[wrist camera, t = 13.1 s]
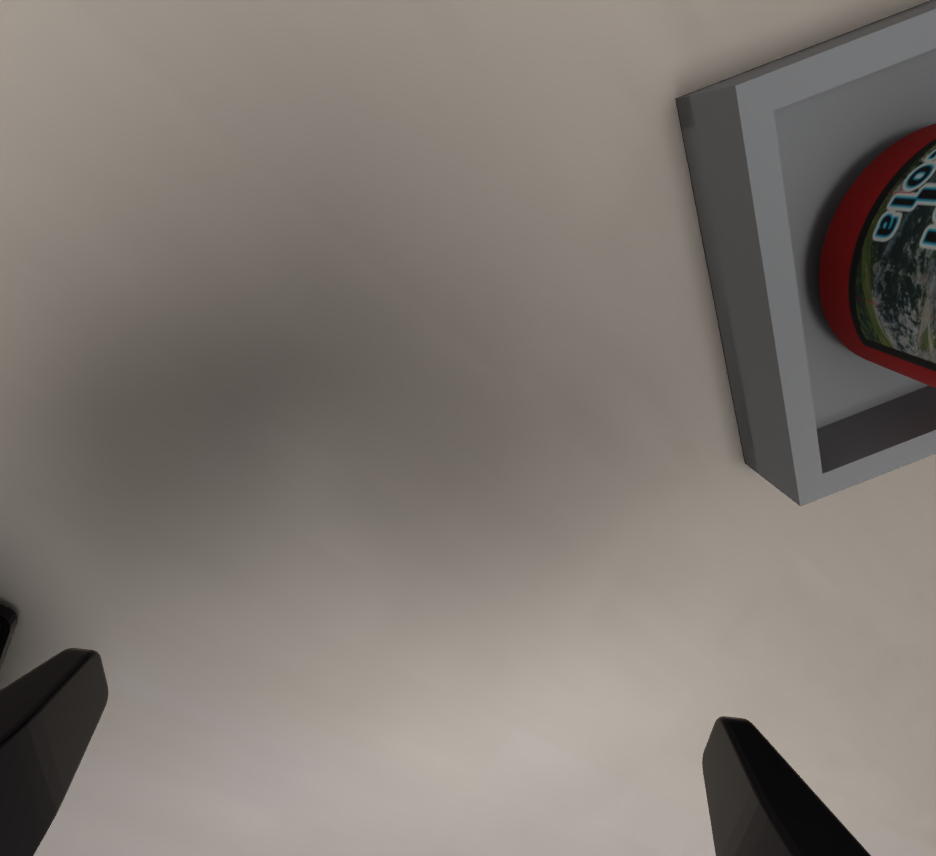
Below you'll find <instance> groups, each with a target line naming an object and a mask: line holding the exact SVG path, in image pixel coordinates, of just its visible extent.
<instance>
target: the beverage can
mask: <svg viewBox="0 0 936 856" xmlns="http://www.w3.org/2000/svg"><path fill="white" fill-rule="evenodd" d="M819 292H820V299H821V304H822V308H823V311H824V315H825V317H826V320H827V322H828V324H829V326H830V328H831V329H832V331H833V333H834V334H835V335H836V337H837V338H838V339H839V340H840V341H841V343H842V344H843V345H844V346H845V347H847V348H848V349H849V350H850V351H851V352H853V353H854V354H856V355H857V356H859V357H861V358H863V359H865V360H868V361H870V362H873V363H875V364H877V365H880V366H882V367H885V368H887V369H890V370H892V371H895V372H897V373H899V374H902V375H904V376H907V377H909V378H912V379H914V380H917V381H919V382H921V383H924V384H926V385H929V386H931V387H934V388H936V124H932V125H930V126H927V127H924V128H922V129H919V130H917V131H915V132H913V133H911V134H909V135H907V136H905V137H904V138H902V139H900V140H899V141H897V142H896V143H894V144H893V145H891V146H890V147H889V148H887V149H886V150H885V151H884V152H882V153H881V154H880V155H879V156H878V157H877V158H875V159H874V160H873V161H872V162H871V163H870V164H869V165H868V166H867V167H866V168H865V169H864V171H863V172H862V173H861V174H860V175H859V176H858V178H857V179H856V180H855V181H854V183H853V184H852V186H851V187H850V188H849V190H848V191H847V193H846V194H845V196H844V198H843V199H842V201H841V203H840V204H839V206H838V208H837V210H836V212H835V214H834V216H833V218H832V221H831V223H830V226H829V228H828V231H827V234H826V237H825V240H824V244H823V248H822V253H821V258H820V265H819Z"/></svg>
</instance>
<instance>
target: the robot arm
mask: <svg viewBox="0 0 936 856" xmlns="http://www.w3.org/2000/svg"><path fill="white" fill-rule="evenodd" d="M16 623H17V617H16V614H15V612H14V611H12V610H11V609H10V608H8V607H6V606H4V605H1V604H0V624H1V625H0V668H1V666H2V663H3V660H4V657H5V654H6V651H7V649H8V646H9V643H10V640H11V637H12V635H13V632H14V629H15V626H16ZM107 699H108V686H107V681H106V677H105V673H104V669H103V664H102V660H101V657H100V655H99V653H98V652H97V651H94V650H87V649H78V648H70V649H66V650H64V651H62V652H60V653H59V654H57V655H55V656H54V657H52V658H51V659H49V660H48V661H46V662H44V663H43V664H41V665H40V666H38V667H36V668H35V669H33V670H32V671H30V672H29V673H27V674H25V675H24V676H22V677H21V678H19V679H18V680H16V681H14V682H13V683H11V684H10V685H8V686H6V687H5V688H3V689H2V690H0V856H33V855H34V853H35V852H36V850H37V848H38V846H39V845H40V843H41V841H42V839H43V838H44V836H45V834H46V832H47V830H48V829H49V827H50V825H51V823H52V821H53V819H54V818H55V816H56V814H57V812H58V810H59V808H60V806H61V804H62V801H63V799H64V797H65V795H66V793H67V791H68V789H69V786H70V784H71V782H72V780H73V777H74V775H75V773H76V771H77V769H78V766H79V764H80V762H81V760H82V757H83V755H84V753H85V751H86V749H87V746H88V744H89V742H90V740H91V737H92V735H93V733H94V731H95V729H96V726H97V724H98V722H99V720H100V717H101V715H102V713H103V711H104V708H105V706H106V703H107ZM702 765H703V775H704V781H705V788H706V794H707V801H708V807H709V814H710V820H711V827H712V833H713V840H714V846H715V853H716V856H871V855H870V854H869V853H868V852H867V851H866V850H865V849H864V847H863V846H862V845H861V844H860V843H859V842H858V841H857V840H856V839H855V837H854V836H853V835H852V834H851V833H850V832H849V831H848V830H847V829H846V827H845V826H844V825H843V824H842V823H841V822H840V821H839V820H838V818H837V817H836V816H835V815H834V814H833V813H832V812H831V811H830V810H829V808H828V807H827V806H826V805H825V804H824V803H823V802H822V801H821V800H820V798H819V797H818V796H817V795H816V794H815V793H814V792H813V791H812V789H811V788H810V787H809V786H808V785H807V784H806V783H805V782H804V781H803V779H802V778H801V777H800V776H799V775H798V774H797V773H796V772H795V771H794V769H793V768H792V767H791V766H790V765H789V764H788V763H787V762H786V761H785V759H784V758H783V757H782V756H781V755H780V754H779V753H778V752H777V750H776V749H775V748H774V747H773V746H772V745H771V744H770V743H769V742H768V740H767V739H766V738H765V737H764V736H763V735H762V734H761V733H760V732H759V730H758V729H757V728H756V727H755V726H754V725H753V724H752V723H751V722H750V721H748V720H746V719H743V718H734V717H724V716H723V717H719V718H718V719H717V720H716V722H715V724H714V727H713V729H712V732H711V734H710V737H709V740H708V742H707V745H706V747H705V750H704V753H703V761H702Z"/></svg>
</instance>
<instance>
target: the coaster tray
mask: <svg viewBox="0 0 936 856" xmlns="http://www.w3.org/2000/svg"><path fill="white" fill-rule="evenodd" d="M676 102H677V107H678V113H679V118H680V123H681V128H682V134H683V139H684V144H685V149H686V155H687V160H688V165H689V170H690V176H691V181H692V186H693V191H694V197H695V202H696V207H697V213H698V218H699V223H700V228H701V234H702V239H703V244H704V249H705V255H706V260H707V265H708V270H709V276H710V281H711V286H712V291H713V297H714V302H715V307H716V312H717V318H718V323H719V328H720V333H721V339H722V344H723V349H724V354H725V360H726V365H727V370H728V375H729V381H730V386H731V391H732V397H733V402H734V407H735V412H736V418H737V423H738V428H739V433H740V439H741V444H742V449H743V454H744V460H745V464H747V465H748V466H749V467H750V468H752V469H753V470H754V471H756V472H757V473H758V474H759V475H761V476H762V477H763V478H765V479H766V480H767V481H768V482H770V483H771V484H772V485H774V486H775V487H776V488H778V489H779V490H780V491H781V492H783V493H784V494H785V495H787V496H788V497H789V498H790V499H792V500H793V501H794V502H796V503H797V504H798V505H799V506H802V505H805V504H807V503H810V502H812V501H815V500H818V499H820V498H823V497H825V496H828V495H830V494H833V493H836V492H838V491H841V490H843V489H846V488H848V487H851V486H854V485H856V484H859V483H861V482H864V481H866V480H869V479H872V478H874V477H877V476H879V475H882V474H884V473H887V472H890V471H892V470H895V469H897V468H900V467H902V466H905V465H908V464H910V463H913V462H915V461H918V460H920V459H923V458H926V457H928V456H931V455H933V454H936V388H934V387H931V386H929V385H926V384H924V383H921V382H919V381H917V380H914V379H912V378H909V377H907V376H904V375H902V374H899V373H897V372H895V371H892V370H890V369H887V368H885V367H882V366H880V365H877V364H875V363H873V362H870V361H868V360H865V359H863V358H861V357H859V356H857V355H856V354H854V353H853V352H851V351H850V350H849V349H848V348H847V347H845V346H844V345H843V344H842V343H841V341H840V340H839V339H838V338H837V337H836V335H835V334H834V333H833V331H832V329H831V328H830V326H829V324H828V322H827V320H826V317H825V315H824V311H823V308H822V304H821V299H820V292H819V265H820V258H821V253H822V248H823V244H824V240H825V237H826V234H827V231H828V228H829V226H830V223H831V221H832V218H833V216H834V214H835V212H836V210H837V208H838V206H839V204H840V203H841V201H842V199H843V198H844V196H845V194H846V193H847V191H848V190H849V188H850V187H851V186H852V184H853V183H854V181H855V180H856V179H857V178H858V176H859V175H860V174H861V173H862V172H863V171H864V169H865V168H866V167H867V166H868V165H869V164H870V163H871V162H872V161H873V160H874V159H875V158H877V157H878V156H879V155H880V154H881V153H882V152H884V151H885V150H886V149H887V148H889V147H890V146H891V145H893V144H894V143H896V142H897V141H899V140H900V139H902V138H904V137H905V136H907V135H909V134H911V133H913V132H915V131H917V130H919V129H922V128H924V127H927V126H930V125H932V124H936V0H931V1H929V2H926V3H923V4H921V5H918V6H916V7H913V8H910V9H908V10H905V11H903V12H900V13H897V14H895V15H892V16H889V17H887V18H884V19H882V20H879V21H876V22H874V23H871V24H869V25H866V26H863V27H861V28H858V29H856V30H853V31H850V32H848V33H845V34H843V35H840V36H837V37H835V38H832V39H830V40H827V41H824V42H822V43H819V44H817V45H814V46H811V47H809V48H806V49H804V50H801V51H798V52H796V53H793V54H791V55H788V56H785V57H783V58H780V59H778V60H775V61H772V62H770V63H767V64H765V65H762V66H759V67H757V68H754V69H752V70H749V71H746V72H744V73H741V74H739V75H736V76H733V77H731V78H728V79H726V80H723V81H720V82H718V83H715V84H713V85H710V86H707V87H705V88H702V89H700V90H697V91H694V92H692V93H689V94H687V95H684V96H681V97H679V98H676Z"/></svg>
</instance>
